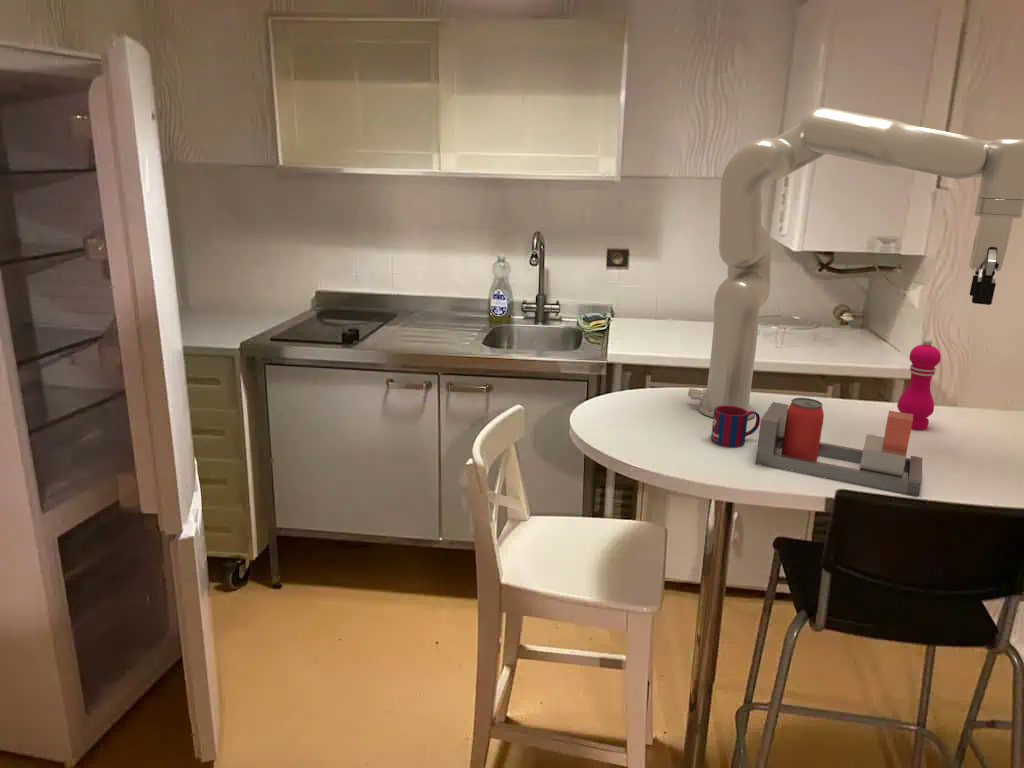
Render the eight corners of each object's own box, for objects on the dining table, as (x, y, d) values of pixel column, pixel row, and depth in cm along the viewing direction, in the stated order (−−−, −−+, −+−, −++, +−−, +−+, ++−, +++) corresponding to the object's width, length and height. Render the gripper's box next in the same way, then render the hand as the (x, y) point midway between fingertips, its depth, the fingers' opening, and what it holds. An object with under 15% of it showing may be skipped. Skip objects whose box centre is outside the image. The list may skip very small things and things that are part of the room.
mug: (706, 436, 161) (709, 405, 159) (751, 435, 162) (755, 404, 160) (718, 448, 154) (722, 416, 152) (765, 447, 156) (769, 415, 154)
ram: (857, 479, 140) (868, 417, 137) (861, 463, 148) (872, 404, 144) (900, 487, 137) (912, 424, 134) (902, 470, 145) (913, 410, 141)
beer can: (799, 469, 145) (808, 409, 141) (773, 457, 150) (781, 399, 147) (823, 464, 148) (833, 405, 144) (797, 452, 153) (805, 395, 150)
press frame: (755, 463, 147) (760, 419, 144) (767, 443, 157) (772, 402, 155) (918, 496, 134) (928, 448, 132) (919, 472, 145) (928, 427, 142)
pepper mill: (893, 427, 170) (909, 339, 164) (894, 417, 176) (910, 332, 170) (930, 433, 166) (947, 343, 161) (930, 423, 173) (947, 337, 167)
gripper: (973, 205, 151) (956, 291, 156) (977, 209, 136) (958, 304, 141) (1018, 207, 148) (999, 295, 153) (1027, 212, 133) (1006, 309, 138)
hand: (979, 299), depth 147 cm, fingers open, 9 cm apart
